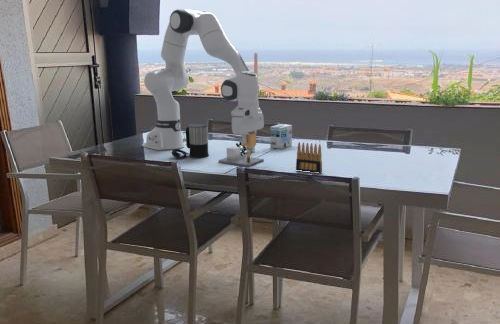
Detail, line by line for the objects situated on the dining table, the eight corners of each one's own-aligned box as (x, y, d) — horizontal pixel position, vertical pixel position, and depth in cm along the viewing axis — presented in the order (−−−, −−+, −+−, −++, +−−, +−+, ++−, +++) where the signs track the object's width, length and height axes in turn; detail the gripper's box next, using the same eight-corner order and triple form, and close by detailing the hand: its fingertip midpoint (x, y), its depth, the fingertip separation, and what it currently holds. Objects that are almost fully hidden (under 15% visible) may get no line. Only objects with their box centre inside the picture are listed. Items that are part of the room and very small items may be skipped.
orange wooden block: (242, 145, 203) (241, 134, 202) (247, 144, 207) (247, 132, 205) (250, 146, 201) (250, 135, 199) (256, 145, 204) (256, 133, 203)
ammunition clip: (322, 173, 188) (322, 143, 186) (320, 174, 187) (321, 144, 184) (297, 169, 194) (297, 141, 191) (295, 170, 192) (296, 142, 189)
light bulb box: (280, 149, 233) (281, 127, 230) (269, 147, 237) (269, 126, 234) (292, 145, 241) (292, 124, 239) (281, 144, 245) (281, 123, 243)
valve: (247, 150, 232) (234, 155, 222) (247, 137, 230) (234, 141, 220) (258, 151, 228) (246, 156, 218) (258, 138, 227) (246, 142, 217)
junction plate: (218, 162, 207) (218, 149, 206) (234, 157, 217) (233, 144, 215) (248, 167, 199) (248, 153, 197) (263, 161, 208) (263, 148, 207)
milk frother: (213, 155, 221) (212, 124, 218) (192, 162, 208) (190, 129, 205) (189, 152, 229) (188, 121, 225) (167, 158, 216) (166, 126, 212)
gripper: (255, 106, 210) (255, 137, 213) (228, 112, 193) (229, 145, 197) (267, 107, 207) (267, 138, 210) (241, 113, 190) (242, 146, 193)
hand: (248, 141), depth 203 cm, fingers closed on orange wooden block, 4 cm apart
